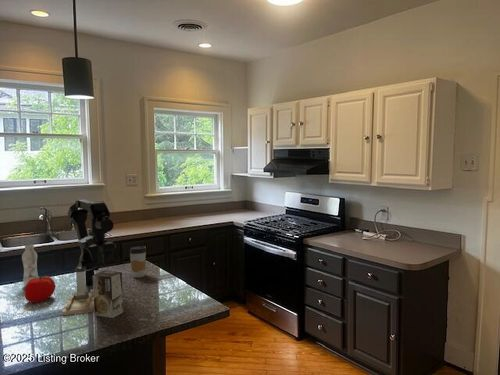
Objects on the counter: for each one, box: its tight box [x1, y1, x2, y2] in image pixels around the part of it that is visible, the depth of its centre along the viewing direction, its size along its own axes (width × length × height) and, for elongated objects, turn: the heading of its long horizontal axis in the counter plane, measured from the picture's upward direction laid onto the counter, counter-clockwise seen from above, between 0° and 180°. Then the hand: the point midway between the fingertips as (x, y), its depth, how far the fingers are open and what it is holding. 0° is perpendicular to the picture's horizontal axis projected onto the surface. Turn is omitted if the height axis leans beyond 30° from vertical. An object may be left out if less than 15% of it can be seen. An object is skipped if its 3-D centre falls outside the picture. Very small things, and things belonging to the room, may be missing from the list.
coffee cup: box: [129, 245, 147, 279], centre depth 190 cm, size 8×8×15 cm
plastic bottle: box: [21, 243, 39, 287], centre depth 176 cm, size 6×7×20 cm
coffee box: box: [92, 270, 124, 319], centre depth 141 cm, size 9×6×16 cm
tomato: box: [24, 275, 56, 303], centre depth 157 cm, size 11×13×10 cm
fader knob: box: [74, 266, 90, 299], centre depth 155 cm, size 4×5×13 cm
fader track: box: [61, 289, 94, 316], centre depth 152 cm, size 19×11×3 cm, turn 18°
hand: (99, 262), depth 168 cm, fingers open, 9 cm apart
